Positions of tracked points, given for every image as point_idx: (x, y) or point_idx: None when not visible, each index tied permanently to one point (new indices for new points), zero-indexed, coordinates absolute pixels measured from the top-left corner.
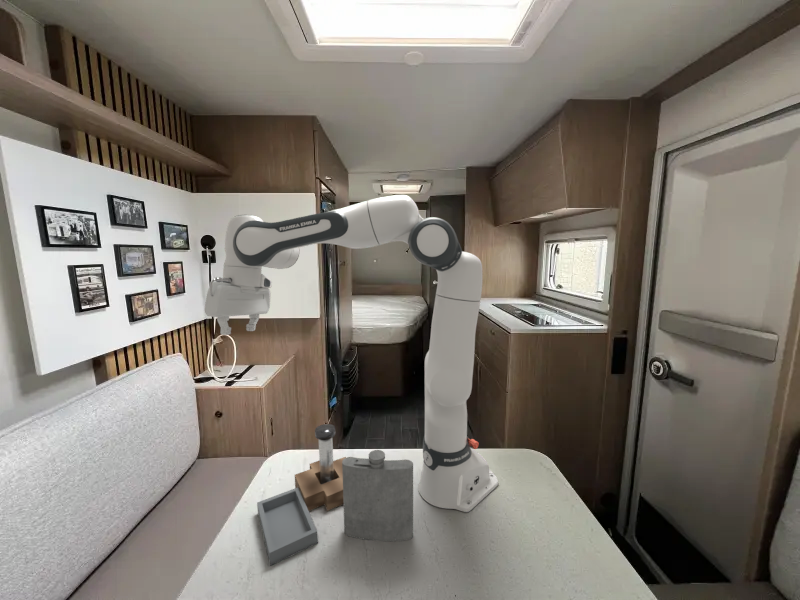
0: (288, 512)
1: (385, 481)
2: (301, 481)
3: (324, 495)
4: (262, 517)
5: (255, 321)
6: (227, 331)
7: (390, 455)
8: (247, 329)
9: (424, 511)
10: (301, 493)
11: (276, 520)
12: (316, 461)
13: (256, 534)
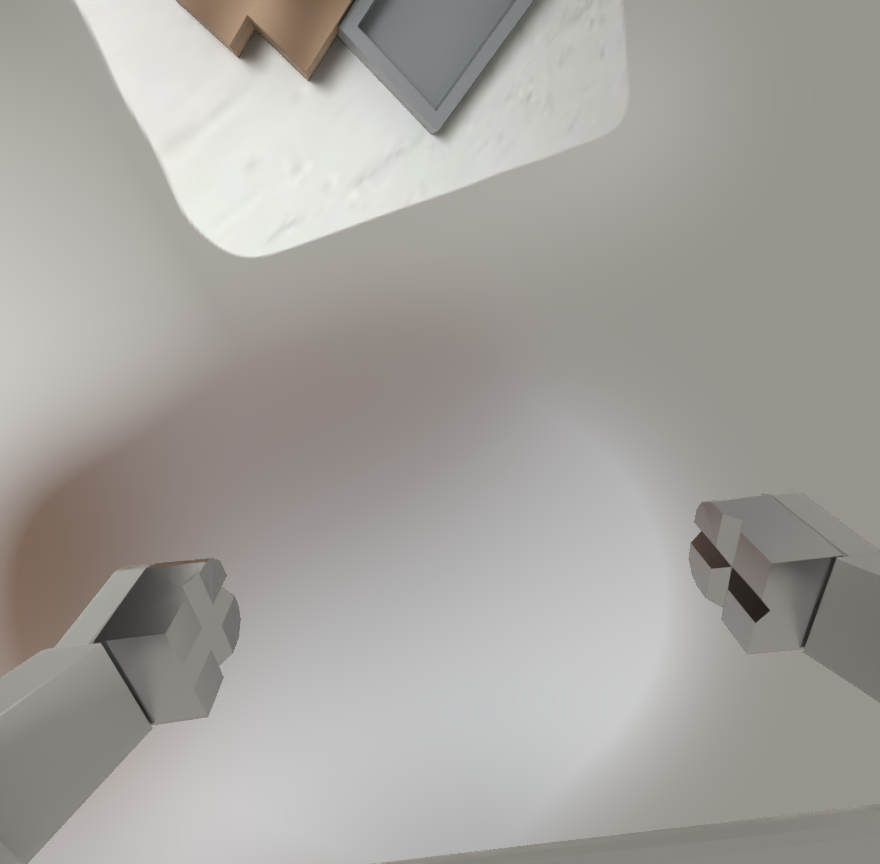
0: (407, 24)
1: None
2: (325, 15)
3: None
4: (478, 67)
5: (21, 706)
6: (811, 513)
7: None
8: (230, 624)
9: None
10: None
11: (441, 46)
12: (202, 20)
13: (487, 82)
